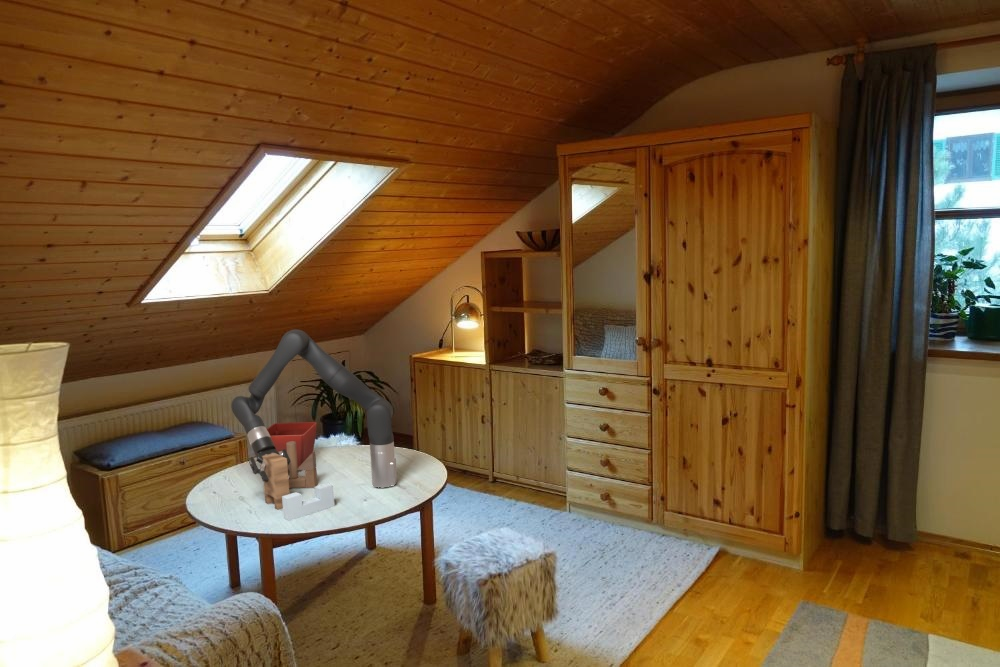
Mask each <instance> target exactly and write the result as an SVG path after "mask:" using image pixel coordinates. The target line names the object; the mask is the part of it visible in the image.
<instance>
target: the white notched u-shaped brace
mask: <svg viewBox="0 0 1000 667" xmlns="http://www.w3.org/2000/svg"><path fill="white" fill-rule="evenodd" d="M334 493H335V492H334V484H332V483H329V482H327V483H323V484H319V485H317V486H316V487H315V488H314V497H312V498H309V499H305V500H303V498H302V494H301V493H299V492H292V493H290V494H288V495H285V496H282V502H283V509H282V513H283V519H284V520H286V521H287V522H289V521H293V520H296V519H300V518H302V517H305V516H308V515H312V514H315V513H317V512H320V511H324V510H328V509H331V508H333V507H335V505H336V504H335V494H334ZM302 500H303V501H302Z"/></svg>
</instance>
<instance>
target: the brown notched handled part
mask: <svg viewBox="0 0 1000 667" xmlns="http://www.w3.org/2000/svg"><path fill="white" fill-rule="evenodd" d="M286 446H287V454H288V456H289V458H290V460H291V462H290V464H289V466H288V469H289V471H290V473H289V476H288V479H289V489H305V488H306V489H315V487H316V486H318V474H317V458H316V456H317V455H316V450H314V449H313V453H312V454H311V455H310V456H309V457H308V458H307V459H306V460H305V461H304V462H303V463H302V464H301V465H300V466H299V467H298V464H297V451H296V442H294V441H290V442H287V443H286ZM300 470H302V471H304V475H305V476H304V475H303V476H302V475H301V476H299V472H301V471H300Z"/></svg>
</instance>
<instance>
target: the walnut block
mask: <svg viewBox="0 0 1000 667" xmlns="http://www.w3.org/2000/svg"><path fill="white" fill-rule="evenodd" d="M262 458H263V459H264V460H265V463H266V465H265V468H264V471H265V472H266V474H267V477H268V479H269V480H268V482H266V483H265V481H263V491H264V502H265V504H267V505H271V504H274V509H275V510H276V511H279V510H283V502H282V496H285V495H288V494H291V492H290V488H289V476H288V466H287V458H285V457H283V456H280V455H278V454H276V453H275V454H272V455H271V454H268V456H262Z"/></svg>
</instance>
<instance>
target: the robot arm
mask: <svg viewBox="0 0 1000 667" xmlns="http://www.w3.org/2000/svg"><path fill="white" fill-rule="evenodd" d="M296 356H299V357H301V358H302V359H303V360H304V361H306V362H307V363H308V364H310V365H311V366H312V367H313V369H314V370H315V372H316V373H317V375H318V376H319V378H320V379H321V380H322V381H324V383H325V384H326V385H328V386H329V387H330V388H331V389H333V390H334V391H335V392H337V393H338V394H340V395H342V396H344V397H346V398H348V399H351V400H352V401H354V402H356V403H358V404H359V405H360V406H361V407H362V408H363V409H364V410H366V424H367V425H366V426H367V436H368V438H369V452H370V467H371V468H370V469H371V483H372V484H371V485H373V486H374V487H373V486H372V487H373V488H375V487H378V488H377V489H380V488H379V487H388V486H391V485H395V483H396V481H397V482H398V477H397V476H398V474H397V459H396V457H395V442H394V437H395V436H394V434H393V427H392V425H393V424H392V417H393V415H394V408H393V405H392V404H391V402H389V401H388V400H387V399H386V398H384V397H383V396H381V395H379V394H378V393H376V392H375V391H374V390H372V389H371V388H370V387H368V386H367V385H366V384H365V383H364V382H363V381H362V380H360V379H359V378H358V377H357V376H356V375H355V374H354V373H353V372H351V371H350V370H349V369H348V368H347V367H345V365H343V364H342V363H340V362H339V361H338V360H337V359H335V358H334V357H333V356H331V355H330V354H329V353H327V352H326V351H324V350H323V349H322V348H321V347H320V346H319V345H318V344H317V343H316V342H315V341H314V340H313V339H312V337H310V336H309V334H307V333H306V332H305V331H303V330H301V329H296V328H295V329H291V330H289V331H287V332H286V333H283V335H282V337H281V340H280V341H279V343H278V345H277V347H276V349H275V350H274V352H273V354H272V356H271V357H270V359H269V360H268V361H267V362H266V364H265V365H264V366H263V368H262V369H261V370H260V371H259V372H258V373H257V375H256V376H255V377H254V379H253V380H252V381H251V382H250V384H249V386H248V392H249V393H250V394H251V395H250V396H244V395H239V396H236V397H234V398H233V399H232V400H231V405H230V406H231V411H232V413H233V416H235V417H236V420H238V422H239V423H240V424H241V426H243V428H244V431H245V432H246V435H247V439H248V442H249V445H250V447H251V449H252V451H253V454H254V455H255V457H253V456H251V457H250V458H249V460H248V464H249V466H250V468H251V471H252V473H253V474H254V475H260V477H261V478H260V479H261V480H262V482H264V481H265V483H266V482H268V480H269V479H268V477H267V474H266V472H265V471H264V468H265V465H266V463H265V460H264V459H263V458H262V456H268V454H271V455H272V454H275V453H276V454H278V455H280V456H283V457H285V458H287V466H289V464H290V462H291V460H290V458H289V456H288V454H287V452H286V450H285V449H283V450H282V451H280V452H278V451H277V450H276V448H275V445H274V443H273V441H272V439H271V437H270V434H269V432H268V431H267V429H268V428H266V426H265V422H264V421H263V419H262V417H260V416H259V415H258V414H257V413H258V412H259V411H260V409H261V408H262V405H263V402H264V400H265V397H266V395H267V394H268V393H269V391H270V390H271V389H272V388H273V386H274V385H275V384H276V382H277V380H279V377H280V375H281V373H282V372H283V371H284V369H285V368H286V366H287V365H288V364H289V363H290V362H291V361H292V360H293V359H294V358H295V357H296ZM257 463H259V464H260V467H259V468H258V465H257ZM289 473H290V471H289V469H288V477H289ZM396 484H397V483H396ZM395 486H396V485H395Z"/></svg>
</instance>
